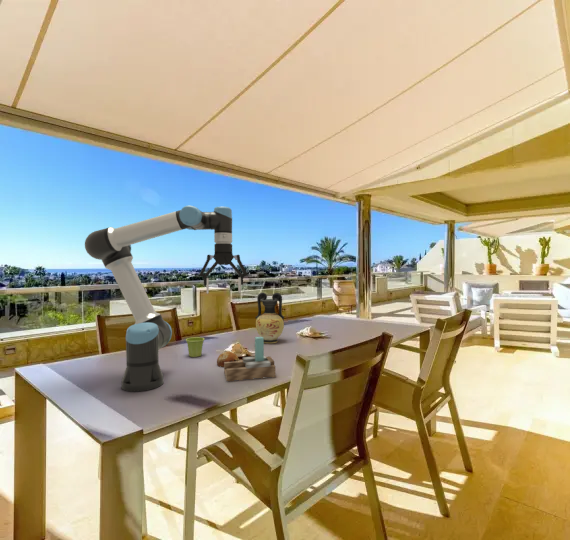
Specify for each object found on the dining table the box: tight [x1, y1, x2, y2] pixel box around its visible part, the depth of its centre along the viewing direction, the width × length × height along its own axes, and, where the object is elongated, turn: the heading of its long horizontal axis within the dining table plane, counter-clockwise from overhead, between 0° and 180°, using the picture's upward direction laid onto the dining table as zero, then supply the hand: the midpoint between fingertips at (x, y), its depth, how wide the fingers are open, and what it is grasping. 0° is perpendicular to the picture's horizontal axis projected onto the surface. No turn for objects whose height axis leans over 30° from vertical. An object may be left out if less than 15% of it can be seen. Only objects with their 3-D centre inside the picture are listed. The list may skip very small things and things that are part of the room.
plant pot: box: [185, 336, 205, 358], centre depth 180 cm, size 9×9×9 cm
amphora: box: [255, 292, 285, 344], centre depth 211 cm, size 18×17×30 cm
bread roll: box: [216, 350, 241, 368], centre depth 164 cm, size 10×10×8 cm
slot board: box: [223, 355, 276, 382], centre depth 147 cm, size 20×12×6 cm, turn 105°
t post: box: [254, 336, 265, 362], centre depth 148 cm, size 6×6×14 cm
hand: (223, 292), depth 149 cm, fingers open, 13 cm apart
